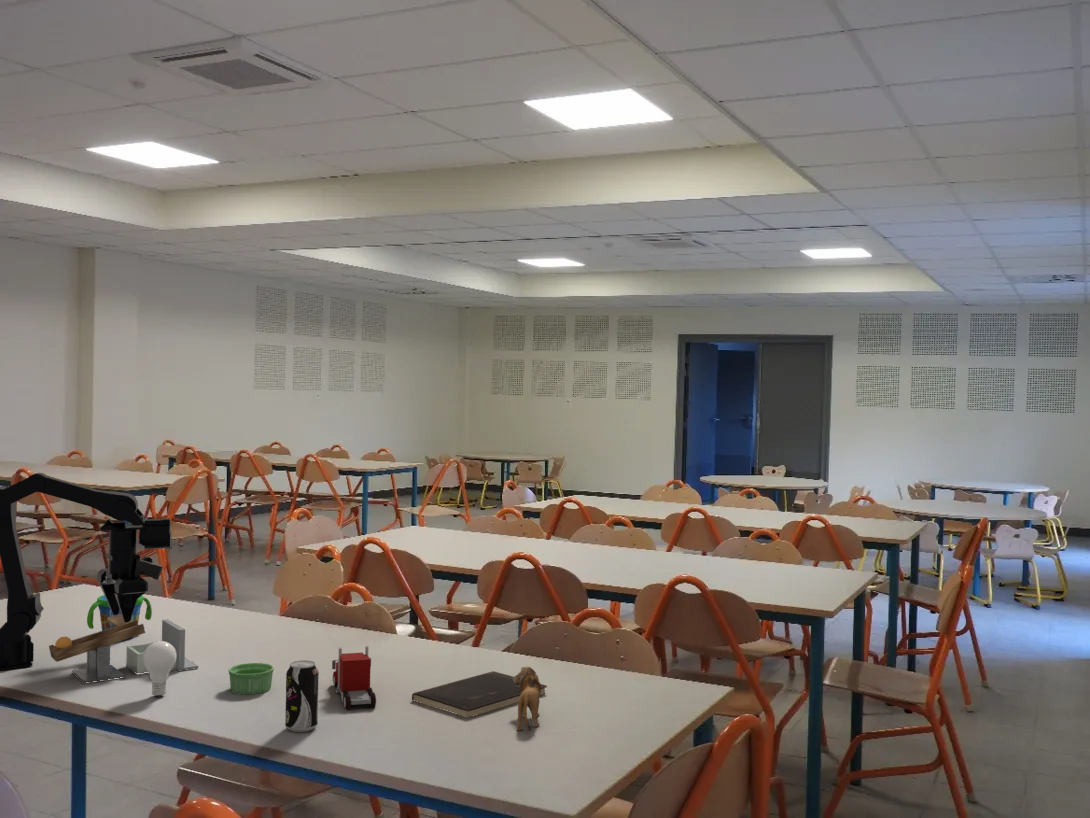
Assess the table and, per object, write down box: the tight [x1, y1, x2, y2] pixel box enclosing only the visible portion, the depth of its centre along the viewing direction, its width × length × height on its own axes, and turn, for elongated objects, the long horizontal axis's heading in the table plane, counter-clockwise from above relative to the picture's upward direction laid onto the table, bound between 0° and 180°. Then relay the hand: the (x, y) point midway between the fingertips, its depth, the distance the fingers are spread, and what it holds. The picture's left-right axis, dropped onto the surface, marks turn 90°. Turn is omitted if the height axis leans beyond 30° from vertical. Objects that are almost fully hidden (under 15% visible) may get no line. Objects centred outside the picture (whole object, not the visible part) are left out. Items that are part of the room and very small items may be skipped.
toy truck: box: [331, 645, 377, 711], centre depth 205 cm, size 8×19×10 cm, turn 19°
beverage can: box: [284, 660, 320, 733], centre depth 184 cm, size 6×6×12 cm
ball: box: [54, 636, 72, 650], centre depth 211 cm, size 3×3×3 cm
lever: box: [48, 614, 146, 663], centre depth 220 cm, size 18×19×3 cm
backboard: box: [161, 619, 199, 672], centre depth 226 cm, size 4×12×9 cm, turn 38°
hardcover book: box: [411, 670, 548, 718], centre depth 206 cm, size 16×23×2 cm
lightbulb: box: [143, 640, 177, 697], centre depth 201 cm, size 6×6×11 cm
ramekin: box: [228, 662, 275, 695], centre depth 208 cm, size 9×9×4 cm
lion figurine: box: [513, 666, 542, 733], centre depth 191 cm, size 15×5×9 cm, turn 6°
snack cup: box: [86, 594, 153, 639], centre depth 248 cm, size 16×10×10 cm
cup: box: [125, 642, 176, 673], centre depth 222 cm, size 8×8×4 cm
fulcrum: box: [71, 644, 125, 684], centre depth 215 cm, size 8×10×7 cm
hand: (121, 618), depth 228 cm, fingers open, 9 cm apart
